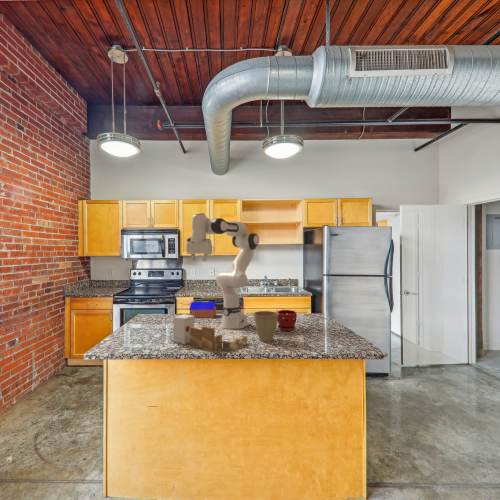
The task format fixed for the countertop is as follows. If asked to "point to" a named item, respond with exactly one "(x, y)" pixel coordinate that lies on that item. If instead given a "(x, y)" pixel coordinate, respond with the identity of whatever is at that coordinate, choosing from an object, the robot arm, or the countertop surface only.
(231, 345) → the rail
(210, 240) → the robot arm
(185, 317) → the supplement box
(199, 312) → the house
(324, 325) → the countertop surface
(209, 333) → the wood grain block
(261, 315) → the plant pot
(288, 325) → the plant pot
